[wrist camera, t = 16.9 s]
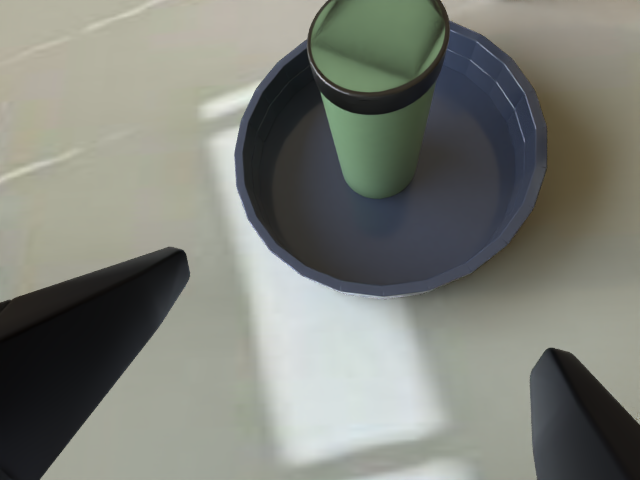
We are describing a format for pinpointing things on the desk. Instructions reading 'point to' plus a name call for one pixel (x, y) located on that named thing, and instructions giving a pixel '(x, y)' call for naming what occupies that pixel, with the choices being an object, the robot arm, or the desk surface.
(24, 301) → the robot arm
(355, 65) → the tea tin
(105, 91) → the desk surface
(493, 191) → the pan
